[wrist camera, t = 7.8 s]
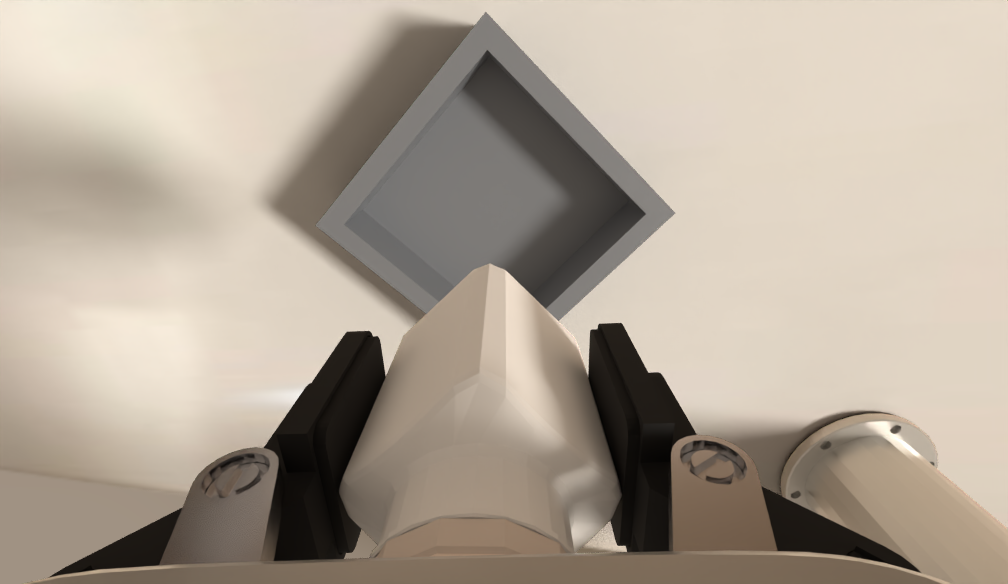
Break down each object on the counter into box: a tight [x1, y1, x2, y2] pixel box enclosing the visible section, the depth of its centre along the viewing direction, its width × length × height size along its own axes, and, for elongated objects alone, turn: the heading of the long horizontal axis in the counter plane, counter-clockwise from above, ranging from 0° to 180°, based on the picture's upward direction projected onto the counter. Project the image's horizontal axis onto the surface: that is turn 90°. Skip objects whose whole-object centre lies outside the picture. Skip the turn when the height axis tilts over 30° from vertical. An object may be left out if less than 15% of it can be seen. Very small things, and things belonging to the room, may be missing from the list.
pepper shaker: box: [339, 264, 622, 558], centre depth 9 cm, size 4×4×10 cm
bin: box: [315, 12, 675, 321], centre depth 30 cm, size 15×15×5 cm
